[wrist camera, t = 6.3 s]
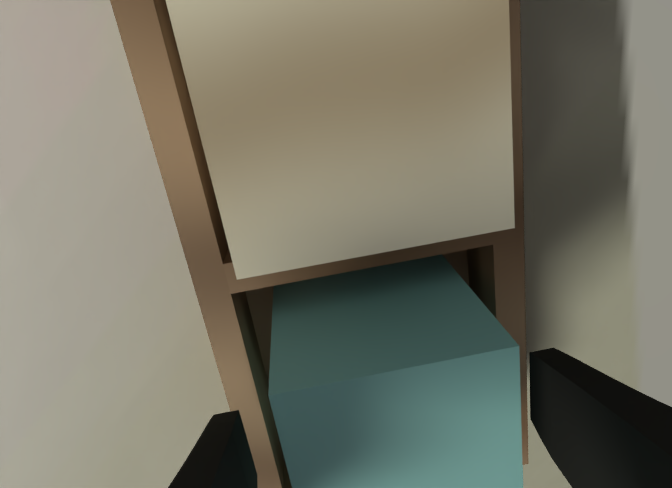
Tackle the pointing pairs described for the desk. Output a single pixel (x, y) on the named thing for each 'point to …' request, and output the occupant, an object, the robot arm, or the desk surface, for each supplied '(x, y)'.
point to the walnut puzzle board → (256, 293)
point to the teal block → (394, 381)
